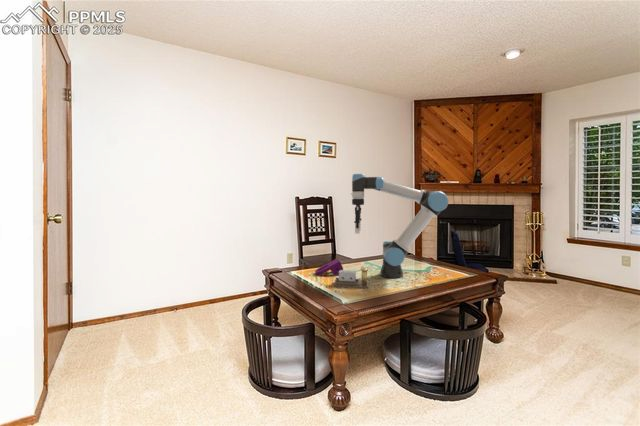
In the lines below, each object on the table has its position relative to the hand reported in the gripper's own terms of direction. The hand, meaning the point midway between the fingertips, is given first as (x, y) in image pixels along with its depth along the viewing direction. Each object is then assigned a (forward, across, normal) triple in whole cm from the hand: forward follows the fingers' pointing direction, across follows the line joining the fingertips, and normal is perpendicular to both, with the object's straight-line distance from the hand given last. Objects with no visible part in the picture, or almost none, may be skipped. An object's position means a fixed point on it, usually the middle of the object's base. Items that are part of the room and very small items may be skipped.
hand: (357, 232), depth 208 cm
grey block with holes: (+29, +12, -6) cm, 32 cm away
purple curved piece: (+31, -12, -20) cm, 39 cm away
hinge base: (+31, +12, -3) cm, 33 cm away
